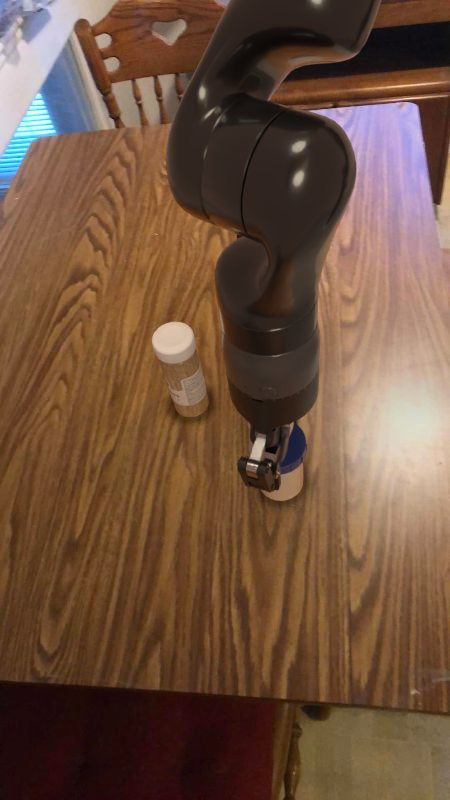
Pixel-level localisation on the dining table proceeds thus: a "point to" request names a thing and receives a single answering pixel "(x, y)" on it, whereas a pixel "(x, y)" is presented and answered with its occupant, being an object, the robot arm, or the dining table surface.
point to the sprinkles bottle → (181, 367)
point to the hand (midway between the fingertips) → (278, 459)
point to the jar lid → (293, 451)
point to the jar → (288, 485)
